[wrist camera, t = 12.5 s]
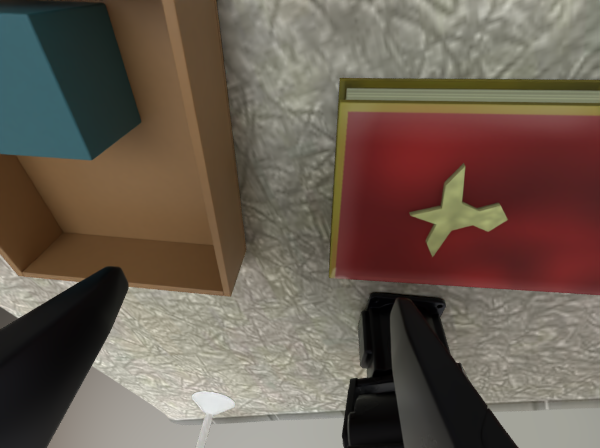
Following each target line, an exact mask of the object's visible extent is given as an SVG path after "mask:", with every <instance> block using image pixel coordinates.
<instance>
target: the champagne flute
mask: <svg viewBox="0 0 600 448" xmlns="http://www.w3.org/2000/svg"><path fill="white" fill-rule="evenodd" d="M192 399H193V400H194V402H195V403H196V404H197V405H198V406H199V407H200V408H201V410H202V411H203V412H204V413H205V418H204V421H203V424H202V428H201V431H200V434H199V438H198V441H197V444H196V448H204V447H205V444H206V440H207V437H208V433H209V429H210V426H211V422H212V419H213V416H214V415H217V414H219V413H222V412H224V411H227V410H229V409H232V408H233V407H235V402H234V401H233V400H232V399H230V398H229V397H227V396H225V395H222V394H219V393H215V392H207V391H201V392H196V393H194V394H193V395H192Z"/></svg>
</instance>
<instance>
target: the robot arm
mask: <svg viewBox="0 0 600 448" xmlns="http://www.w3.org/2000/svg"><path fill="white" fill-rule="evenodd" d="M128 287H129V284H128V281H127V279H126V277H125V274H124V272H123V270H122V269H121V268H120V267H117V266H106V267H104V268H102V269H100V270H99V271H97V272H95V273H94V274H92V275H90V276H89V277H87V278H85V279H84V280H82V281H80V282H79V283H77V284H75V285H74V286H72V287H70V288H69V289H67V290H65V291H64V292H62V293H60V294H59V295H57V296H55V297H54V298H52V299H50V300H49V301H47V302H45V303H44V304H42V305H40V306H39V307H37V308H35V309H34V310H32V311H30V312H29V313H27V314H25V315H23V316H22V317H20V318H18V319H17V320H15V321H13V322H12V323H10V324H8V325H7V326H5V327H3V328H2V329H0V448H47V446H48V444H49V443H50V441H51V439H52V437H53V435H54V434H55V432H56V430H57V428H58V426H59V424H60V423H61V421H62V419H63V417H64V415H65V413H66V412H67V409H68V408H69V406H70V404H71V402H72V401H73V399H74V397H75V395H76V393H77V391H78V389H79V388H80V386H81V384H82V382H83V381H84V379H85V377H86V375H87V373H88V372H89V370H90V368H91V366H92V364H93V362H94V361H95V359H96V357H97V355H98V353H99V351H100V350H101V348H102V346H103V344H104V342H105V340H106V339H107V337H108V335H109V333H110V331H111V329H112V326H113V324H114V322H115V319H116V317H117V315H118V312H119V310H120V308H121V305H122V303H123V300H124V298H125V296H126V293H127V291H128ZM445 307H446V305H445V302H444V300H442V299H434V298H423V297H413V296H402V295H391V294H381V293H373V294H371V295H370V296H369V300H368V303H367V307H366V310H363V311H362V313H361V317H360V321H359V325H358V336H359V355H360V366H361V367H362V368H366V369H367V378H361V379H358V378H353V379H350V385H349V390H348V396H347V403H346V410H345V418H344V425H343V432H342V438H343V446H344V448H518V447H517V445H516V444H515V443H514V441H513V440H512V439H511V437H510V436H509V435H508V433H507V432H506V431H505V429H504V428H503V427H502V425H501V424H500V423H499V421H498V420H497V418H496V417H495V416H494V414H493V413H492V411H491V410H490V409H487V405H486V403H485V402H484V401H483V399H482V398H481V396H480V395H479V394H478V392H477V391H476V389H475V388H474V387H473V385H472V384H471V382H470V381H469V380H468V377H467V375H466V373H465V371H464V369H463V367H462V365H461V363H456V362H455V360H454V359H453V357H452V356H451V354H450V350H449V347H448V343H447V340H446V337H445V333H444V330H443V326H442V323H441V319H440V316H441V315H442V313H443V311H444V309H445Z"/></svg>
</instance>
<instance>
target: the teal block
mask: <svg viewBox="0 0 600 448" xmlns="http://www.w3.org/2000/svg"><path fill="white" fill-rule="evenodd" d="M140 123H141V118H140V115H139V112H138V109H137V105H136V102H135V99H134V96H133V92H132V89H131V86H130V83H129V79H128V76H127V73H126V70H125V66H124V63H123V60H122V57H121V53H120V50H119V47H118V44H117V41H116V37H115V34H114V31H113V28H112V24H111V21H110V18H109V15H108V11H107V8H106V5H105V4H104V3H93V2H68V1H42V0H0V154H7V155H21V156H35V157H49V158H63V159H77V160H93V159H95V158H96V157H97V156H99V155H100V154H101V153H103V152H104V151H105V150H106V149H108V148H109V147H110V146H112V145H113V144H114V143H116V142H117V141H118V140H119V139H121V138H122V137H123V136H125V135H126V134H127V133H129V132H130V131H131V130H132V129H134V128H135V127H136V126H138V125H139V124H140Z"/></svg>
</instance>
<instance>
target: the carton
mask: <svg viewBox="0 0 600 448" xmlns="http://www.w3.org/2000/svg"><path fill="white" fill-rule="evenodd" d="M42 1H68V2H93V3H104V4H105V5H106V8H107V11H108V15H109V18H110V21H111V24H112V28H113V31H114V34H115V37H116V41H117V44H118V47H119V50H120V53H121V57H122V60H123V63H124V66H125V70H126V73H127V76H128V79H129V83H130V86H131V89H132V92H133V96H134V99H135V102H136V105H137V109H138V112H139V115H140V118H141V123H140V124H139V125H138V126H136V127H135V128H134V129H132V130H131V131H130V132H129V133H127V134H126V135H125V136H123V137H122V138H121V139H119V140H118V141H117V142H116V143H114V144H113V145H112V146H110V147H109V148H108V149H106V150H105V151H104V152H103V153H101V154H100V155H99V156H97V157H96V158H95V159H93V160H77V159H63V158H49V157H35V156H21V155H7V154H0V254H1V255H2V257H3V258H4V259H5V260H6V261H7V263H8V264H9V265H10V266H11V267H12V269H13V270H14V271H15V272H16V273H17V275H18V276H25V277H34V278H44V279H55V280H65V281H75V282H80V281H82V280H84V279H85V278H87V277H89V276H90V275H92V274H94V273H95V272H97V271H99V270H100V269H102V268H104V267H106V266H117V267H120V268H121V269H122V270H123V272H124V274H125V277H126V279H127V281H128V284H129V287H137V288H147V289H158V290H168V291H178V292H189V293H199V294H209V295H220V296H231V294H232V291H233V288H234V285H235V282H236V279H237V276H238V273H239V270H240V267H241V264H242V261H243V258H244V255H245V252H246V242H245V233H244V225H243V217H242V208H241V200H240V192H239V184H238V175H237V167H236V159H235V150H234V142H233V134H232V125H231V117H230V109H229V101H228V92H227V84H226V76H225V67H224V59H223V51H222V42H221V34H220V26H219V18H218V9H217V1H216V0H42Z"/></svg>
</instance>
